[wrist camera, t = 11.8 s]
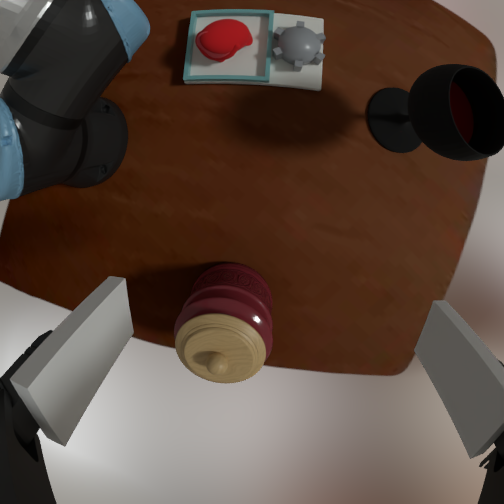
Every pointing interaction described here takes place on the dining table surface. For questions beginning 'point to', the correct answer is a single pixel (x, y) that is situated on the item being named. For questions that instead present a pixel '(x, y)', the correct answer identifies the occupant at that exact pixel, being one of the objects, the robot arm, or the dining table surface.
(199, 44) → the cap
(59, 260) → the dining table surface
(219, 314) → the canister
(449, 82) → the wine glass
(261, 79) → the carrier board
